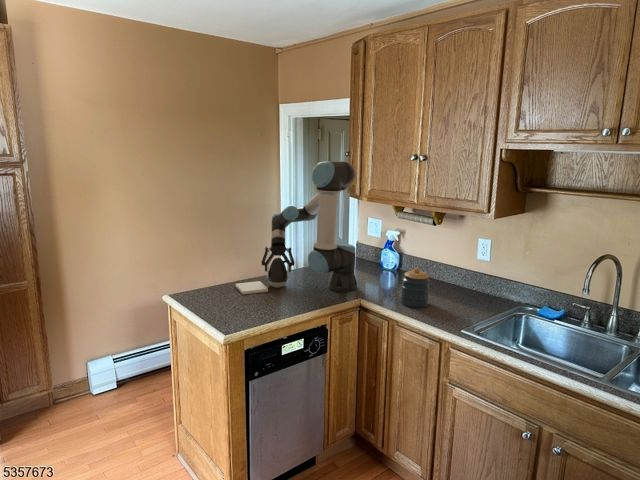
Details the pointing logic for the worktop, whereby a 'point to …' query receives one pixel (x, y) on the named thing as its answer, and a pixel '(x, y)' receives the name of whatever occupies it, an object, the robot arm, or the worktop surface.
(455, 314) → the worktop surface
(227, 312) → the worktop surface
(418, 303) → the canister
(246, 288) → the tile pad
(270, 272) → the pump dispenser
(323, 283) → the worktop surface
